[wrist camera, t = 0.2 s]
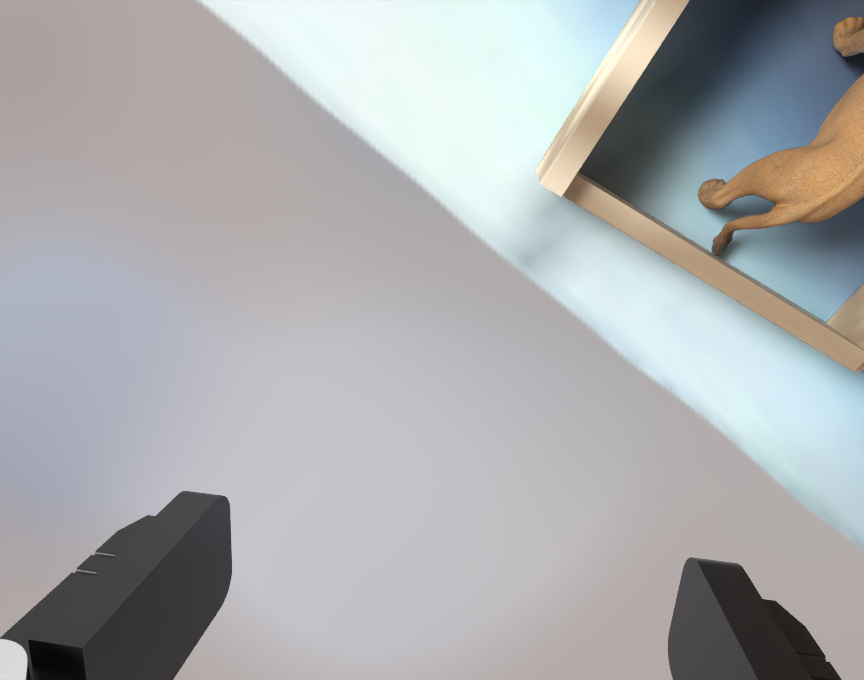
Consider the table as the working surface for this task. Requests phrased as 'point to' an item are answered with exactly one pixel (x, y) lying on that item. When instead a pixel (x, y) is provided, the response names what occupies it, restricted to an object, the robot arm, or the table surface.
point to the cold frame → (559, 172)
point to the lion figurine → (804, 164)
